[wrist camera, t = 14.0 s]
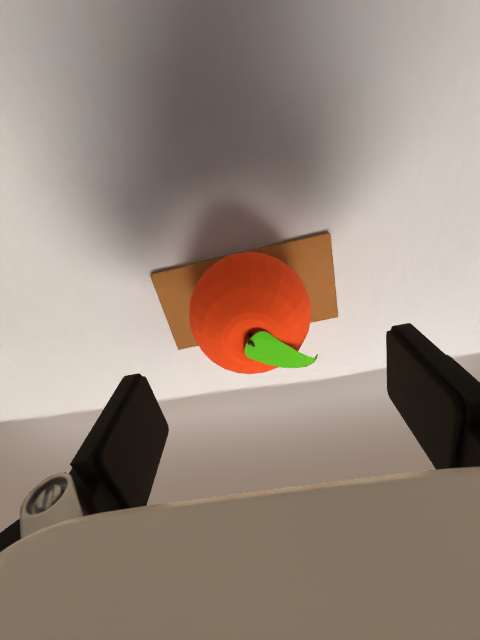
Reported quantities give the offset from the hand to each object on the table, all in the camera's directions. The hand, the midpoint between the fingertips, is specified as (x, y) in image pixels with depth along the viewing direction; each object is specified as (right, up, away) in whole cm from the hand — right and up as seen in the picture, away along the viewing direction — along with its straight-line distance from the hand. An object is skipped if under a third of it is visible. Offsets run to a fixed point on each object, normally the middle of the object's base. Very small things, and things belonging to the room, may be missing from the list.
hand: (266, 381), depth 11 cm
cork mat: (-1, +4, +9) cm, 10 cm away
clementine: (0, +4, +9) cm, 10 cm away
